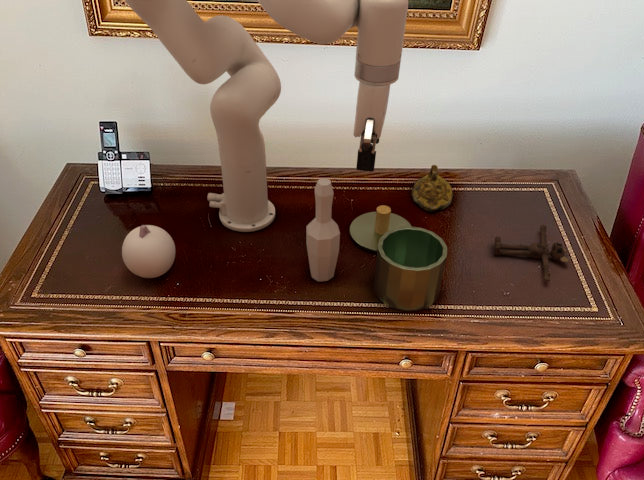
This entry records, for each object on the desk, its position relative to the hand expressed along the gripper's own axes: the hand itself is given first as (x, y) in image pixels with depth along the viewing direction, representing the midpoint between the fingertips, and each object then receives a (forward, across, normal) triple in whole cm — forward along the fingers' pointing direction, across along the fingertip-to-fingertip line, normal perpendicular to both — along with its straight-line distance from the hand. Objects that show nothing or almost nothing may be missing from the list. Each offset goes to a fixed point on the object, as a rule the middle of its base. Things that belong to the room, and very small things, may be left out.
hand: (367, 155), depth 118 cm
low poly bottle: (+22, +10, -6) cm, 25 cm away
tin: (+22, +12, +11) cm, 27 cm away
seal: (+22, -21, +15) cm, 34 cm away
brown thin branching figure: (+21, -2, +35) cm, 41 cm away
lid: (+21, -4, +4) cm, 22 cm away
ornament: (+23, +15, -40) cm, 49 cm away
